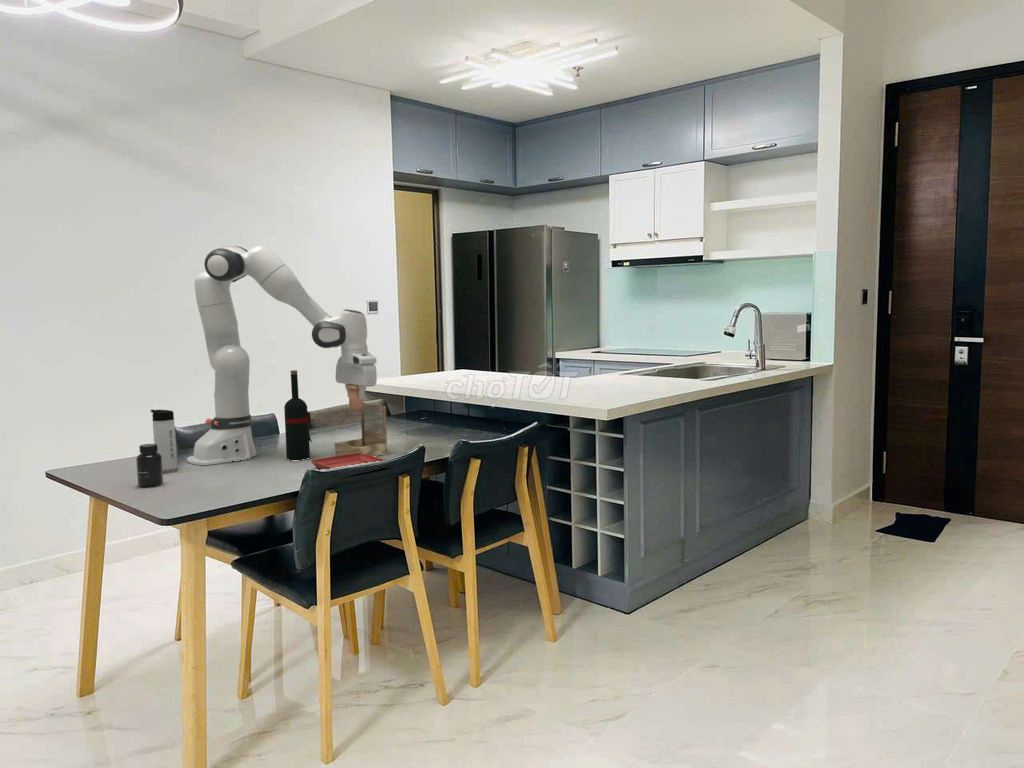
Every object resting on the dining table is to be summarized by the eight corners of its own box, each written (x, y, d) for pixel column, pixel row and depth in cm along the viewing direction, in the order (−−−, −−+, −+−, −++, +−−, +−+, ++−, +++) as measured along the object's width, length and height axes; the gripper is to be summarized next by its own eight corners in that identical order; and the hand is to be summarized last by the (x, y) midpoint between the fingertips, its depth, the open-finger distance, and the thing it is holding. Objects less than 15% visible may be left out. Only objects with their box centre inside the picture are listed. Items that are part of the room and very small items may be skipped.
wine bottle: (319, 455, 263) (315, 369, 260) (299, 461, 254) (294, 372, 251) (302, 454, 267) (298, 368, 263) (281, 459, 258) (276, 371, 254)
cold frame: (357, 460, 255) (355, 410, 253) (335, 454, 265) (333, 406, 263) (387, 454, 264) (385, 406, 262) (364, 449, 274) (362, 402, 272)
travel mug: (155, 470, 246) (150, 408, 244) (177, 468, 249) (173, 407, 246) (154, 474, 240) (150, 411, 238) (177, 472, 243) (173, 409, 240)
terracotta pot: (353, 410, 258) (353, 386, 257) (344, 408, 262) (343, 385, 261) (368, 408, 262) (367, 385, 261) (358, 406, 266) (358, 383, 265)
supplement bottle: (137, 488, 222) (134, 448, 221) (138, 483, 229) (135, 444, 227) (163, 486, 225) (160, 445, 224) (163, 481, 231) (160, 442, 230)
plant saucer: (360, 461, 256) (359, 451, 255) (388, 470, 242) (388, 459, 242) (309, 470, 244) (309, 459, 243) (337, 479, 230) (336, 469, 230)
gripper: (330, 356, 265) (331, 396, 267) (363, 359, 251) (364, 401, 252) (346, 355, 270) (347, 394, 271) (379, 358, 255) (380, 399, 257)
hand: (355, 397), depth 262 cm, fingers closed on terracotta pot, 5 cm apart
